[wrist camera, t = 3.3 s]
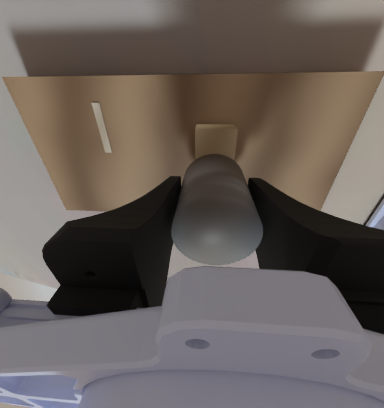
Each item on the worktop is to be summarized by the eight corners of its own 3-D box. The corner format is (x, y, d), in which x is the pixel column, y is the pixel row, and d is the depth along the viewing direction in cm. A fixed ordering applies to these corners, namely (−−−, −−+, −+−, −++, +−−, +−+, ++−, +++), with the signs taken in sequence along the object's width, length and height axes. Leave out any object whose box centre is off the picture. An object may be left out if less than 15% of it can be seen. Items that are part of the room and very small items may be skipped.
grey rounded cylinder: (250, 119, 13) (298, 163, 6) (235, 219, 18) (252, 304, 11) (179, 119, 13) (149, 161, 6) (183, 217, 18) (169, 299, 11)
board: (359, 72, 12) (386, 71, 10) (306, 204, 17) (317, 218, 15) (28, 77, 13) (1, 77, 11) (78, 198, 19) (65, 210, 17)
